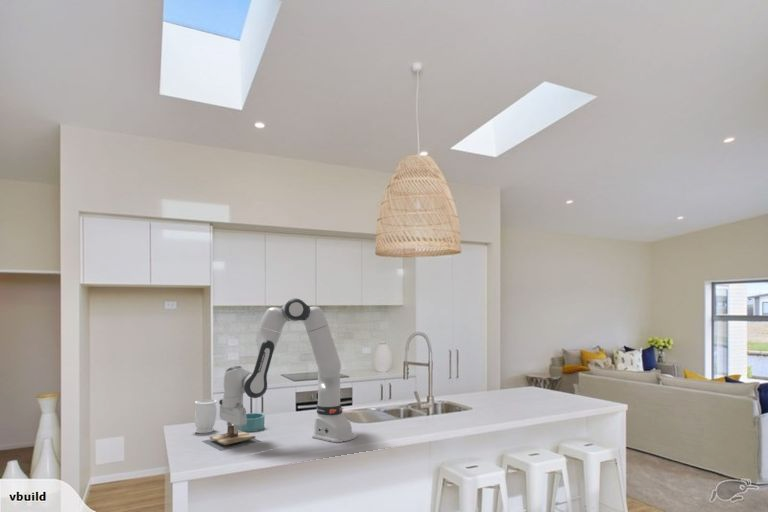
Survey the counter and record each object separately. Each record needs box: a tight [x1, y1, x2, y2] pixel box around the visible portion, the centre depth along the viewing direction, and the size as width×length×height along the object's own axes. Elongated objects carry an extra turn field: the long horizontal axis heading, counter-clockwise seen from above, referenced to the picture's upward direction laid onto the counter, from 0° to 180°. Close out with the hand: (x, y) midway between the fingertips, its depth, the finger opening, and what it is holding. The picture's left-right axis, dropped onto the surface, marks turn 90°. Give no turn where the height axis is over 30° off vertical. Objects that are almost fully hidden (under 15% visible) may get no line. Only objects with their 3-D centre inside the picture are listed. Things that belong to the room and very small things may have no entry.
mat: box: [201, 437, 263, 452], centre depth 224 cm, size 20×20×1 cm
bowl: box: [238, 412, 265, 433], centre depth 247 cm, size 13×13×6 cm
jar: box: [194, 398, 218, 434], centre depth 243 cm, size 11×10×15 cm
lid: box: [209, 424, 256, 445], centre depth 224 cm, size 15×15×5 cm
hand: (232, 432), depth 224 cm, fingers closed on lid, 3 cm apart
